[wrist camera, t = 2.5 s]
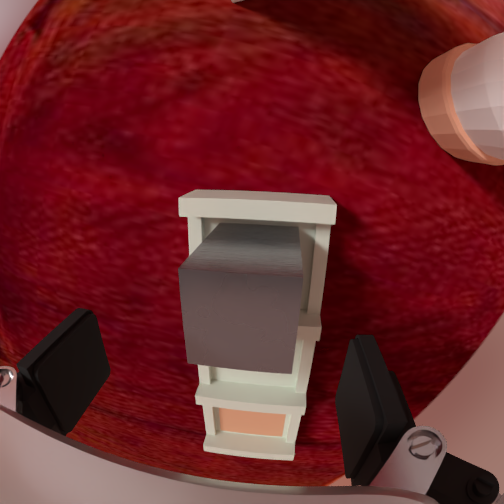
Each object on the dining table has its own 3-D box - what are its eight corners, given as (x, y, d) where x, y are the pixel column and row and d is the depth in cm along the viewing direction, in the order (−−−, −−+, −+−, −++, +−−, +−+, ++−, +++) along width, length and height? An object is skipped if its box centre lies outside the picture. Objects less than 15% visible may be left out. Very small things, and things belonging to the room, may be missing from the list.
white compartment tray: (329, 195, 17) (336, 204, 14) (294, 435, 24) (293, 460, 22) (195, 189, 18) (178, 197, 15) (211, 427, 25) (204, 450, 22)
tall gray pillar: (298, 226, 17) (303, 277, 10) (292, 297, 18) (291, 374, 12) (219, 222, 17) (178, 268, 11) (221, 292, 19) (188, 362, 12)
